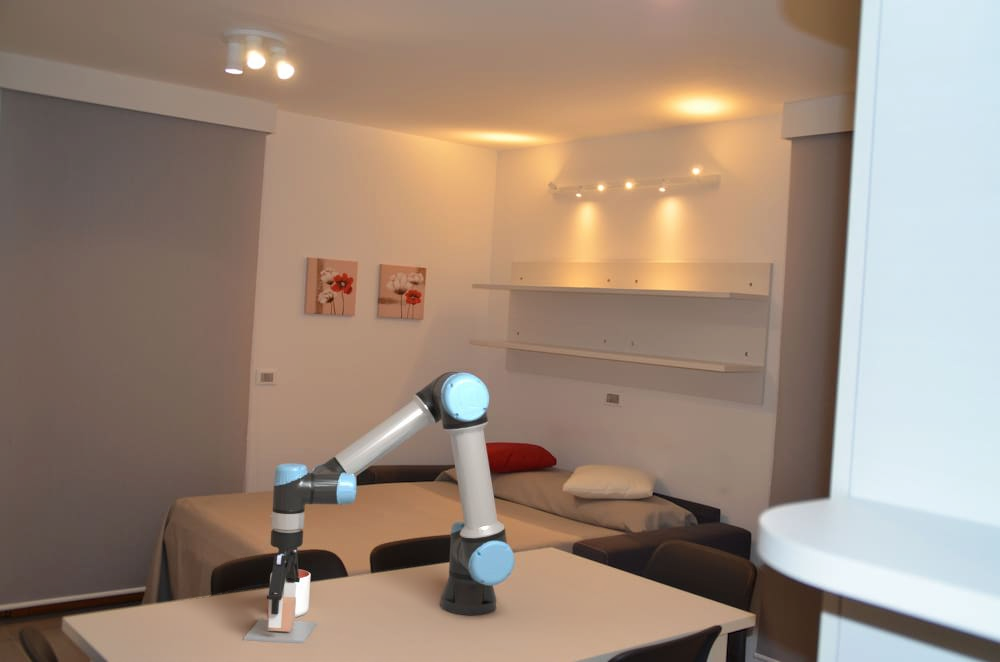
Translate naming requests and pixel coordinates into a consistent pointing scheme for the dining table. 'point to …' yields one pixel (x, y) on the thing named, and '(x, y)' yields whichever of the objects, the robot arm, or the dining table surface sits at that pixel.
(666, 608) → the dining table surface
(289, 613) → the peach toy cube
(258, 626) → the grey square plate
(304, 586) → the cup
